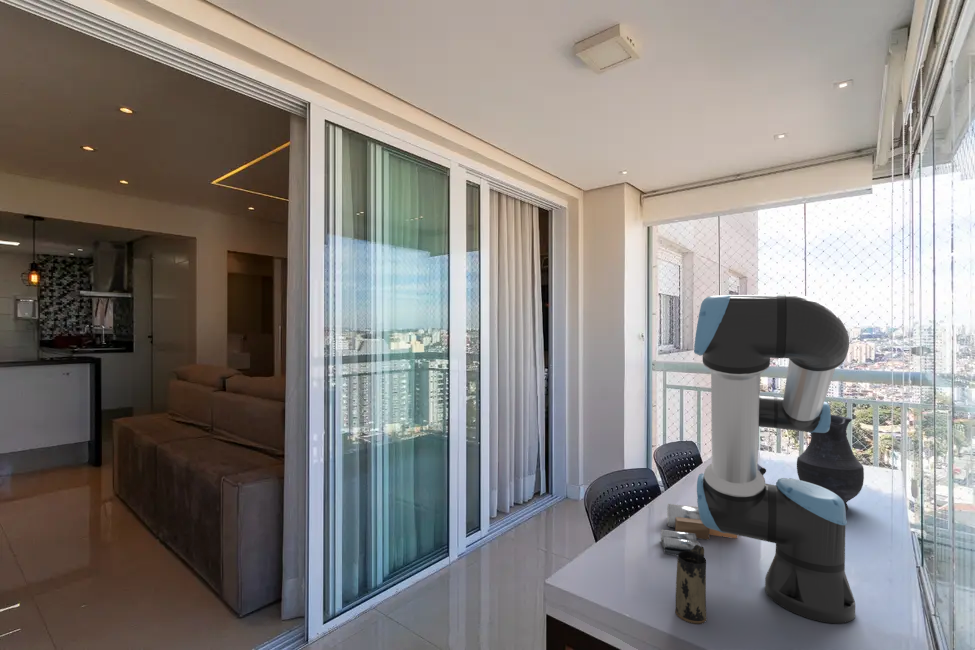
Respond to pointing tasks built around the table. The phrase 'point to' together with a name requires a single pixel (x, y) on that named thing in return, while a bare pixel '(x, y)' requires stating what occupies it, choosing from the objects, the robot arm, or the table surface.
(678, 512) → the silver metal cylinder
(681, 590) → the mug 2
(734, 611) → the table surface
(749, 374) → the robot arm
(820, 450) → the pitcher
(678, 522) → the cardboard box
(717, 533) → the orange brown block
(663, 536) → the v block
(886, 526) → the table surface
